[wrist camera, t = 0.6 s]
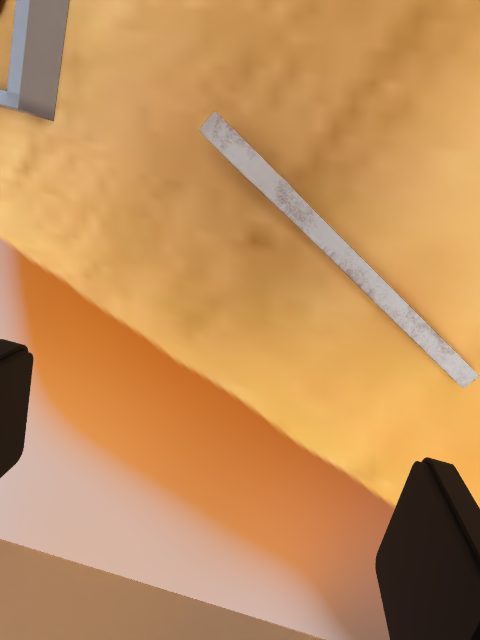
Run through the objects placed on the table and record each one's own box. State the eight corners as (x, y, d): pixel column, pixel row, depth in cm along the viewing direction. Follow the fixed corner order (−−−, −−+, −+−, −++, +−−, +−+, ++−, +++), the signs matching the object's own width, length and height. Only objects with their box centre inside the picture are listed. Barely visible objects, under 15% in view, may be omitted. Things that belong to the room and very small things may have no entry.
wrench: (441, 366, 42) (207, 136, 36) (457, 353, 42) (222, 117, 36) (482, 410, 34) (193, 127, 29) (501, 395, 34) (212, 104, 28)
